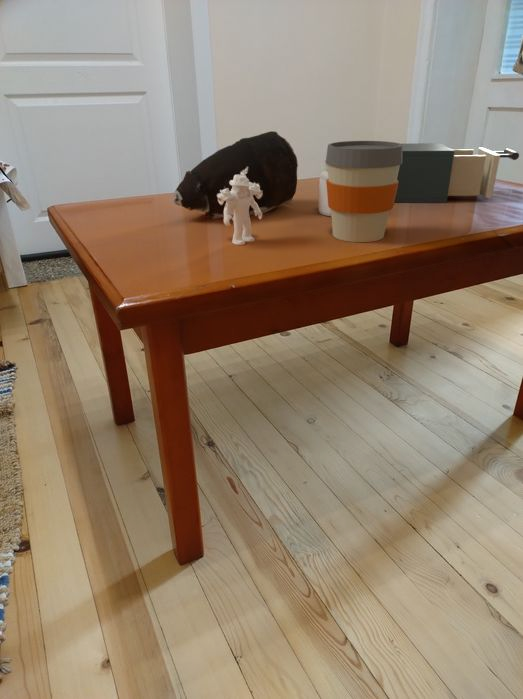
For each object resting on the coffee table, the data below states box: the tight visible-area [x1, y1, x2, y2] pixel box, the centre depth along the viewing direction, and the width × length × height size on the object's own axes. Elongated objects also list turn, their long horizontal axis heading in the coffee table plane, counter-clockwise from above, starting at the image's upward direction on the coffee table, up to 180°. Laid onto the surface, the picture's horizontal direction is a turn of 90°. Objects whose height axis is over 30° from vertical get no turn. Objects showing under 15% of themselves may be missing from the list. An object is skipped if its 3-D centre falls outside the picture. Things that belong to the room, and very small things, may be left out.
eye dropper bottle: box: [317, 158, 331, 217], centre depth 102 cm, size 4×6×12 cm
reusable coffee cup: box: [324, 140, 403, 243], centre depth 87 cm, size 13×12×15 cm
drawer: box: [448, 147, 520, 199], centre depth 115 cm, size 20×13×9 cm, turn 84°
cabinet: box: [394, 142, 454, 204], centre depth 116 cm, size 16×14×11 cm
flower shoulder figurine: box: [217, 167, 263, 246], centre depth 85 cm, size 9×4×12 cm, turn 135°
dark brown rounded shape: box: [172, 130, 299, 220], centre depth 104 cm, size 15×15×25 cm
